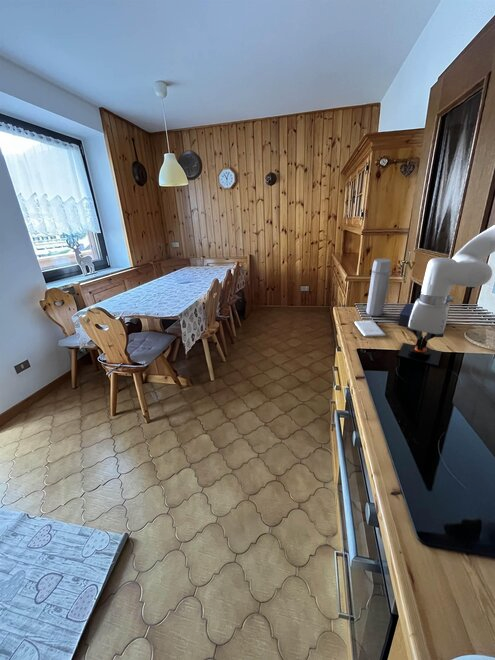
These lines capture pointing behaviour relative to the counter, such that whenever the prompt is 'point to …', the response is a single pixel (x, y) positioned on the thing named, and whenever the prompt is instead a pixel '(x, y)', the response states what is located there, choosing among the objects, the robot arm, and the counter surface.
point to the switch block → (420, 355)
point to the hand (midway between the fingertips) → (420, 348)
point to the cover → (407, 310)
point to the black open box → (403, 321)
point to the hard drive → (369, 328)
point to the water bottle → (378, 287)
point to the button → (420, 350)
